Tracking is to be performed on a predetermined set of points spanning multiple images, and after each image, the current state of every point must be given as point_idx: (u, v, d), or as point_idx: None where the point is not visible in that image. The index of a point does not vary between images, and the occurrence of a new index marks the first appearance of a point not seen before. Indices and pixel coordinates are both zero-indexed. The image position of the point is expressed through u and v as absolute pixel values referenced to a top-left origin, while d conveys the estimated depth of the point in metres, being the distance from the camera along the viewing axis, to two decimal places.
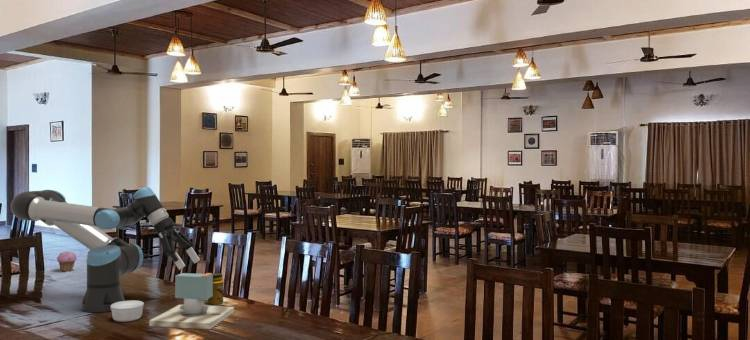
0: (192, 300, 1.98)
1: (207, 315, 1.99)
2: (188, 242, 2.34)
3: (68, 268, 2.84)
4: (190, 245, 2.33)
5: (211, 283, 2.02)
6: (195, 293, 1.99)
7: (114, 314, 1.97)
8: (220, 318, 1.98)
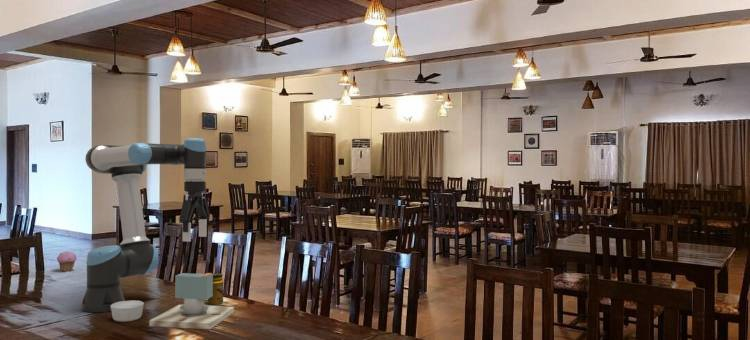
0: (192, 300, 1.98)
1: (207, 315, 1.99)
2: (206, 212, 2.10)
3: (68, 268, 2.84)
4: (206, 217, 2.09)
5: (211, 283, 2.02)
6: (195, 293, 1.99)
7: (114, 314, 1.97)
8: (220, 318, 1.98)
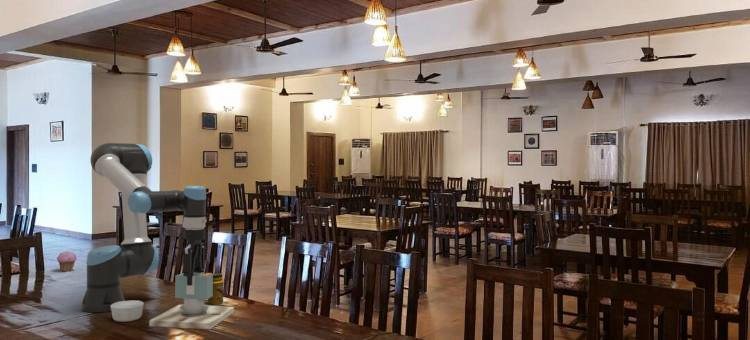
0: (192, 300, 1.98)
1: (207, 315, 1.99)
2: (202, 264, 2.06)
3: (68, 268, 2.84)
4: (201, 270, 2.05)
5: (211, 283, 2.02)
6: (195, 293, 1.99)
7: (114, 314, 1.97)
8: (220, 318, 1.98)
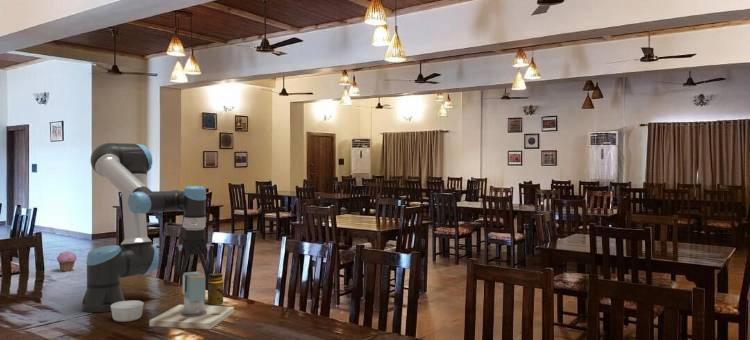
0: (185, 300, 1.99)
1: (207, 315, 1.99)
2: None
3: (68, 268, 2.84)
4: (205, 272, 2.01)
5: (203, 286, 1.97)
6: (188, 293, 1.99)
7: (114, 314, 1.97)
8: (220, 318, 1.98)
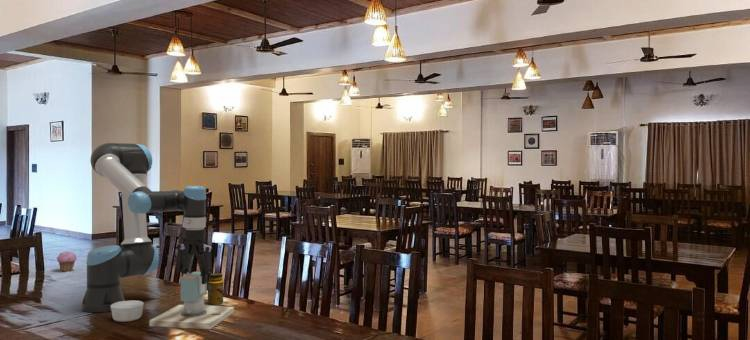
0: None
1: (207, 315, 1.99)
2: None
3: (68, 268, 2.84)
4: (201, 273, 1.99)
5: (192, 287, 1.95)
6: None
7: (114, 314, 1.97)
8: (220, 318, 1.98)
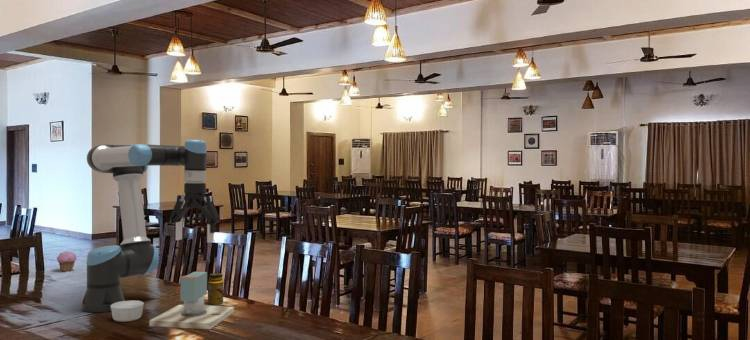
0: None
1: (207, 315, 1.99)
2: None
3: (68, 268, 2.84)
4: (209, 222, 1.98)
5: (192, 287, 1.95)
6: None
7: (114, 314, 1.97)
8: (220, 318, 1.98)
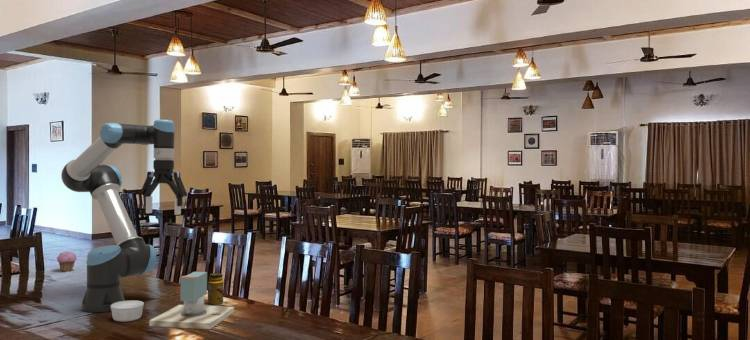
0: None
1: (207, 315, 1.99)
2: None
3: (68, 268, 2.84)
4: None
5: (192, 287, 1.95)
6: None
7: (114, 314, 1.97)
8: (220, 318, 1.98)
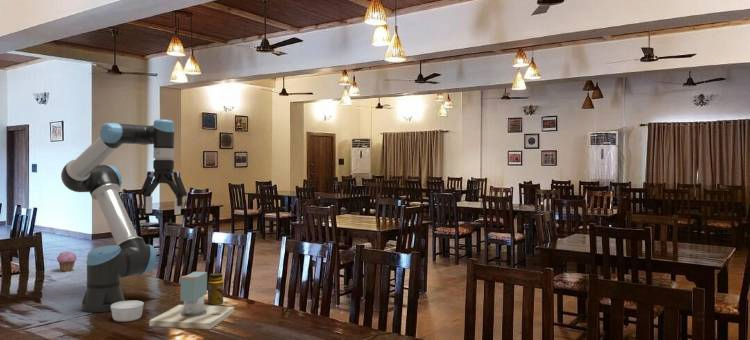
0: None
1: (207, 315, 1.99)
2: None
3: (68, 268, 2.84)
4: (176, 195, 2.13)
5: (192, 287, 1.95)
6: None
7: (114, 314, 1.97)
8: (220, 318, 1.98)
